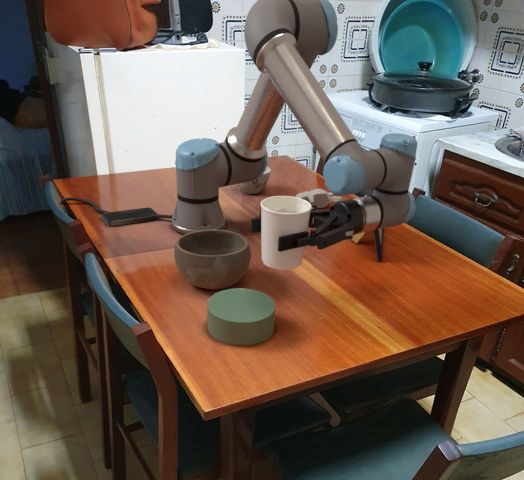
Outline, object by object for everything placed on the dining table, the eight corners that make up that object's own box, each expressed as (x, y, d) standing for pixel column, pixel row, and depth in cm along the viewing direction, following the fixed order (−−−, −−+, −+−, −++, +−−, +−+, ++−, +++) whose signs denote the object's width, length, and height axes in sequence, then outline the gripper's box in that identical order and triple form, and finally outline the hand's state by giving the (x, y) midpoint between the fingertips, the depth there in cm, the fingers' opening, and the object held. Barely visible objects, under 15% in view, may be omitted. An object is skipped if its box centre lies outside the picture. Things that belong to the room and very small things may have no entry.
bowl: (181, 262, 139) (180, 224, 133) (251, 266, 139) (252, 229, 133) (169, 295, 125) (167, 254, 119) (247, 299, 125) (249, 259, 119)
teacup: (275, 195, 184) (277, 171, 179) (241, 199, 179) (241, 174, 175) (258, 182, 195) (259, 159, 191) (225, 184, 191) (225, 161, 186)
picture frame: (382, 261, 145) (385, 206, 137) (348, 260, 147) (349, 206, 139) (383, 229, 164) (387, 179, 156) (353, 229, 166) (355, 179, 157)
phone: (158, 216, 160) (107, 222, 154) (159, 219, 161) (108, 226, 155) (150, 207, 166) (100, 213, 160) (150, 210, 167) (101, 216, 160)
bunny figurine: (291, 189, 178) (335, 183, 180) (291, 204, 181) (335, 198, 183) (298, 199, 170) (344, 193, 172) (298, 215, 173) (344, 208, 175)
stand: (195, 334, 112) (194, 311, 109) (225, 304, 122) (225, 282, 119) (258, 352, 108) (259, 329, 104) (283, 319, 118) (285, 297, 115)
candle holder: (310, 256, 114) (317, 200, 107) (298, 276, 107) (304, 217, 100) (266, 247, 117) (269, 192, 110) (251, 266, 109) (253, 208, 102)
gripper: (324, 183, 122) (236, 198, 111) (392, 217, 107) (299, 237, 96) (320, 216, 126) (236, 232, 115) (385, 252, 111) (295, 275, 101)
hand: (265, 234), depth 106 cm, fingers closed on candle holder, 9 cm apart
